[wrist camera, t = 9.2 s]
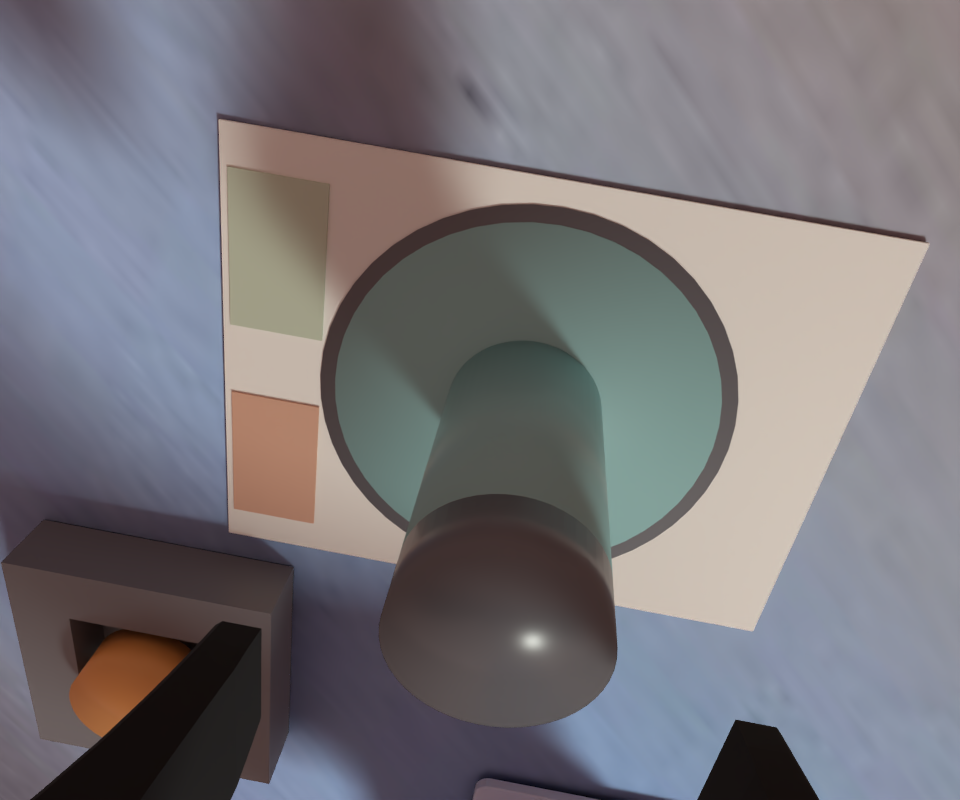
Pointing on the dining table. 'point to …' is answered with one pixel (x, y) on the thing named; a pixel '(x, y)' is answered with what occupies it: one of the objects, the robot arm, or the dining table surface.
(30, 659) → the button housing
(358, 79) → the dining table surface
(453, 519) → the green capped cylinder
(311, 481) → the picture sheet
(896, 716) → the dining table surface
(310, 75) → the dining table surface
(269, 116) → the dining table surface
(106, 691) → the button
